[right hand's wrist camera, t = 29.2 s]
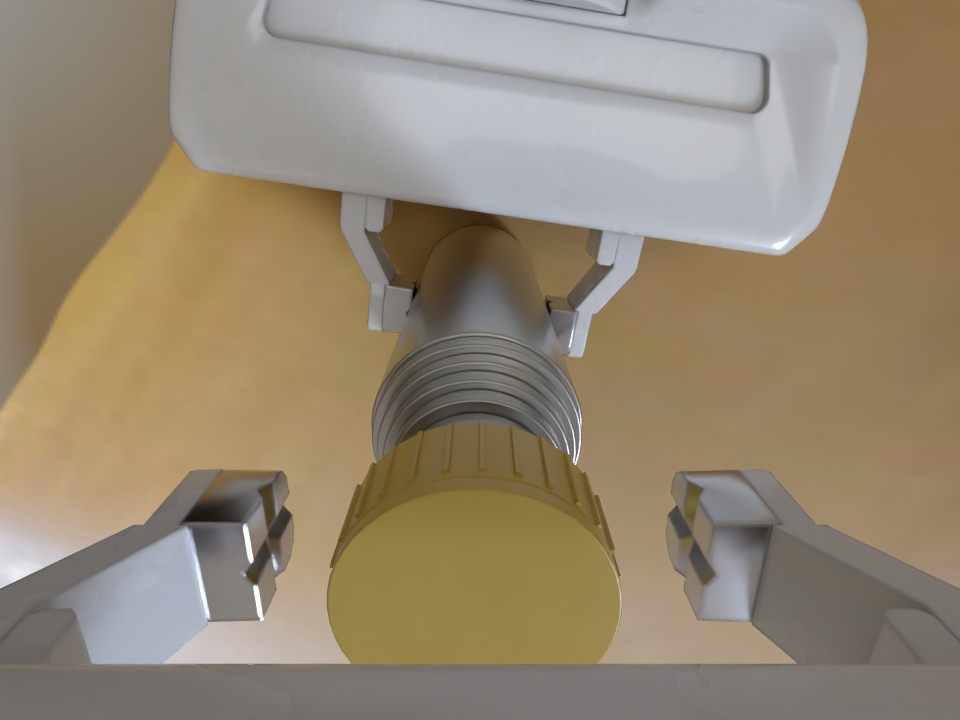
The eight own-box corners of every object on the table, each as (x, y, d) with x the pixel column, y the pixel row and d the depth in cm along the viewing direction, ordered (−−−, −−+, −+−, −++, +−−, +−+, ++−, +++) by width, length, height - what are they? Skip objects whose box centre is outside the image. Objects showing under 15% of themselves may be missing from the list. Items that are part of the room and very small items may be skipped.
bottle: (553, 258, 26) (691, 522, 9) (499, 348, 27) (529, 716, 10) (456, 204, 25) (403, 382, 8) (406, 300, 26) (275, 617, 10)
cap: (557, 381, 9) (575, 442, 7) (631, 587, 11) (659, 677, 9) (305, 465, 10) (267, 541, 8) (409, 648, 11) (395, 744, 9)
